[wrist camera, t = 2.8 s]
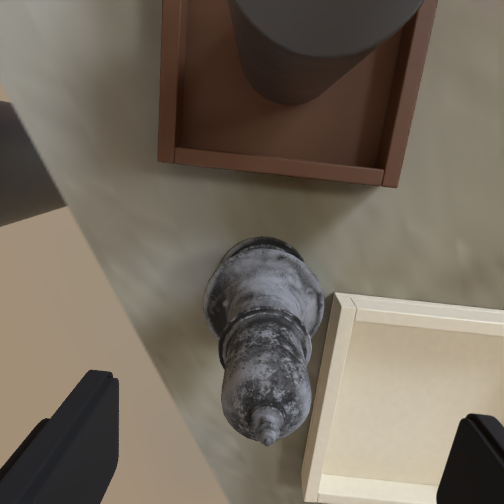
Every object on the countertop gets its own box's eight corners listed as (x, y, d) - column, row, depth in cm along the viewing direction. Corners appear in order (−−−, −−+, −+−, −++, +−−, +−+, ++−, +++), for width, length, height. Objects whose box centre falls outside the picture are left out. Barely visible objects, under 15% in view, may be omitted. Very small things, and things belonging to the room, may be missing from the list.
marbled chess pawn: (334, 278, 21) (428, 441, 9) (264, 344, 22) (271, 559, 11) (260, 209, 20) (262, 298, 8) (191, 283, 21) (110, 448, 10)
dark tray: (167, 160, 19) (157, 161, 17) (177, -110, 16) (166, -145, 14) (384, 184, 19) (397, 188, 17) (438, -79, 16) (462, -110, 14)
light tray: (300, 474, 25) (303, 501, 23) (334, 291, 21) (341, 306, 19) (495, 493, 25) (515, 522, 23) (563, 316, 21) (593, 333, 19)
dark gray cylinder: (234, 99, 18) (206, 44, 8) (244, -19, 16) (224, -251, 7) (335, 110, 18) (423, 69, 8) (353, -6, 16) (486, -219, 7)
